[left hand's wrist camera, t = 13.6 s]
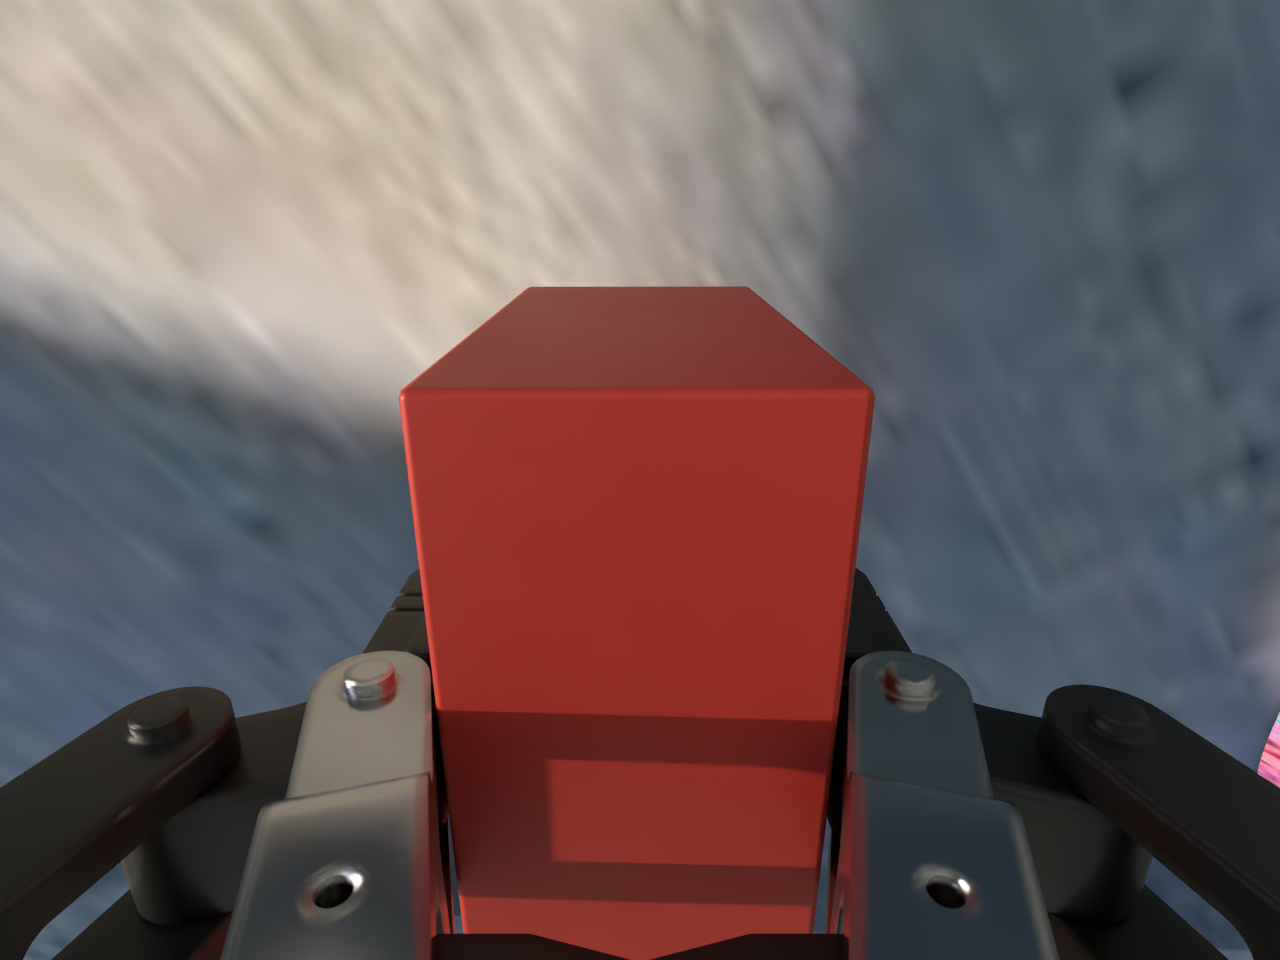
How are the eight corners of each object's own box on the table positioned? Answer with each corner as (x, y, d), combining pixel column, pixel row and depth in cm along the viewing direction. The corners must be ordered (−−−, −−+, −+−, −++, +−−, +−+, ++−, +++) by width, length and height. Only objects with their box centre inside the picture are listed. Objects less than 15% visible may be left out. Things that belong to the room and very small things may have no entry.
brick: (549, 704, 17) (480, 1090, 9) (526, 285, 13) (394, 388, 6) (729, 704, 17) (798, 1090, 9) (750, 285, 13) (880, 388, 6)
